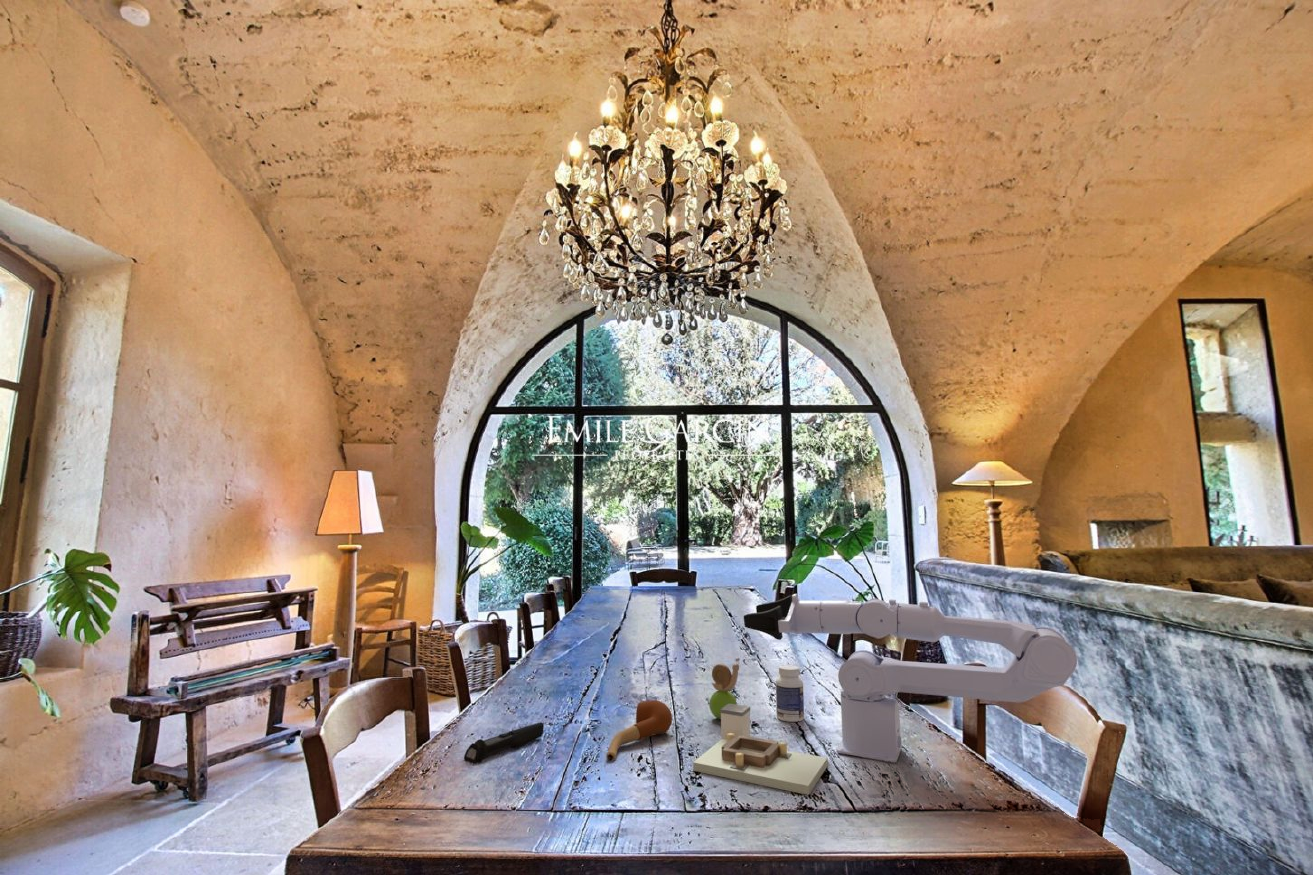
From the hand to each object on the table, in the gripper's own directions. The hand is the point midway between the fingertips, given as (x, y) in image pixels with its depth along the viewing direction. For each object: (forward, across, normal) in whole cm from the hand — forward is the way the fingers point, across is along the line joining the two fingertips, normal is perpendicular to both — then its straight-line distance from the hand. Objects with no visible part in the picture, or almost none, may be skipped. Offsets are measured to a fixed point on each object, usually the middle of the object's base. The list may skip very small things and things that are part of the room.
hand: (750, 615), depth 115 cm
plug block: (+2, +8, +20) cm, 22 cm away
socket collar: (-3, +17, +18) cm, 25 cm away
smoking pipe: (+17, +17, +19) cm, 30 cm away
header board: (-5, +18, +19) cm, 27 cm away
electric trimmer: (+36, +30, +16) cm, 49 cm away
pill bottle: (-3, -9, +22) cm, 24 cm away
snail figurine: (+8, -2, +21) cm, 23 cm away
